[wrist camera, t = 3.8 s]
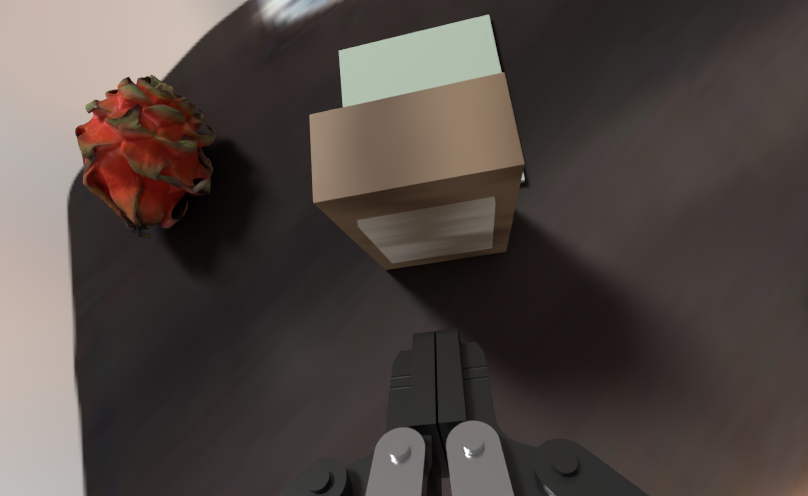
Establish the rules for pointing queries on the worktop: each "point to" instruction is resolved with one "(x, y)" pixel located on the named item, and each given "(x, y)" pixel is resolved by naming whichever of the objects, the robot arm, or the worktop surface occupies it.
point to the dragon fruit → (144, 152)
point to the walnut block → (421, 172)
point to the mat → (419, 61)
